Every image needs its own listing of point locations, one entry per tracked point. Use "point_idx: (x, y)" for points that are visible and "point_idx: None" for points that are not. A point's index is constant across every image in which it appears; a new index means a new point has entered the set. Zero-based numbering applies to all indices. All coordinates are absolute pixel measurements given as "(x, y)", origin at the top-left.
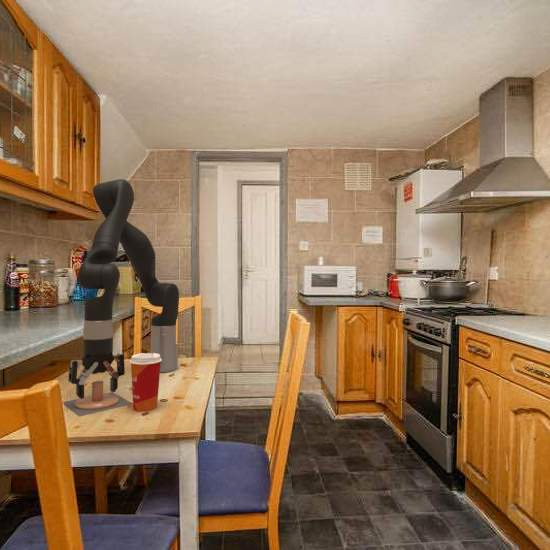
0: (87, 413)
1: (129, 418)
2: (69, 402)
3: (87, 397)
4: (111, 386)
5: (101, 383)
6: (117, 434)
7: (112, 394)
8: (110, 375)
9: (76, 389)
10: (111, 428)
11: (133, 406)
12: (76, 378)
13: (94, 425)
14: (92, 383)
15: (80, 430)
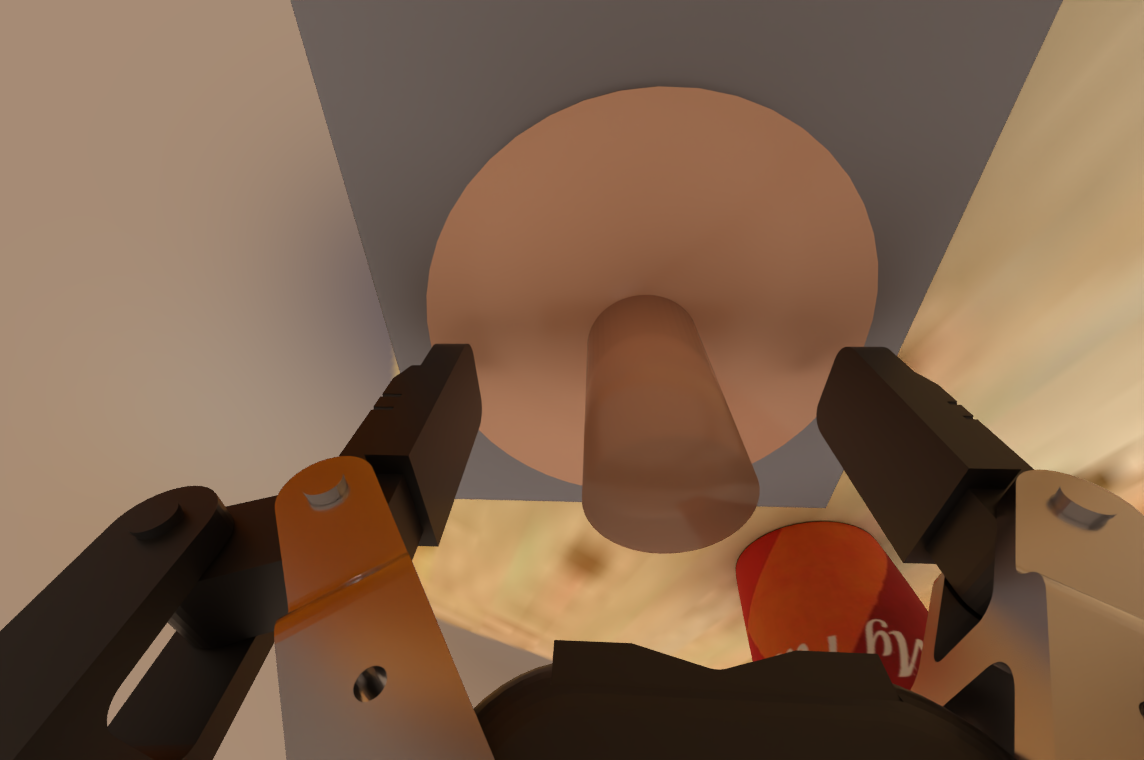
0: (491, 488)
1: (674, 587)
2: (393, 88)
3: (599, 167)
4: (862, 415)
5: (688, 541)
6: (549, 656)
7: (962, 122)
8: (1014, 505)
9: (367, 424)
10: (552, 618)
11: (747, 597)
12: (253, 678)
13: (500, 566)
14: (582, 491)
15: (430, 574)
